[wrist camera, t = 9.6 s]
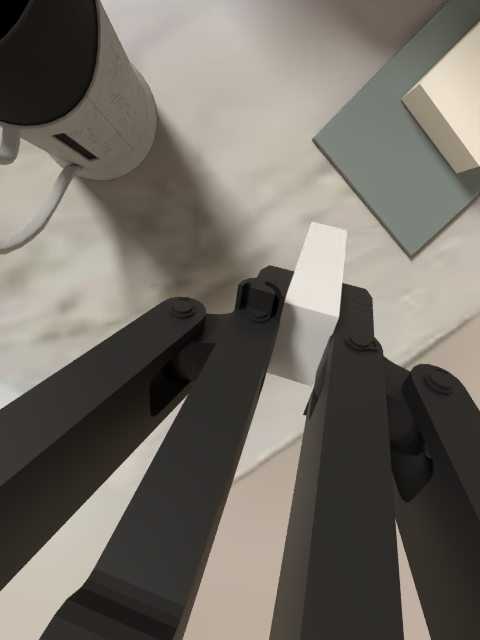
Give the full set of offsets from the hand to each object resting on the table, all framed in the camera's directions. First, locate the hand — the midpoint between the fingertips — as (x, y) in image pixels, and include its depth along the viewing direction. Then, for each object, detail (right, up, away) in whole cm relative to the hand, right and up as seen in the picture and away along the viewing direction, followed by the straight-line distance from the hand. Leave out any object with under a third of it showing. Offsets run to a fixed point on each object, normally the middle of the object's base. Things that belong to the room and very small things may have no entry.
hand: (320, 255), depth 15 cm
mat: (+13, +13, +11) cm, 22 cm away
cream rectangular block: (+11, +11, +9) cm, 18 cm away
